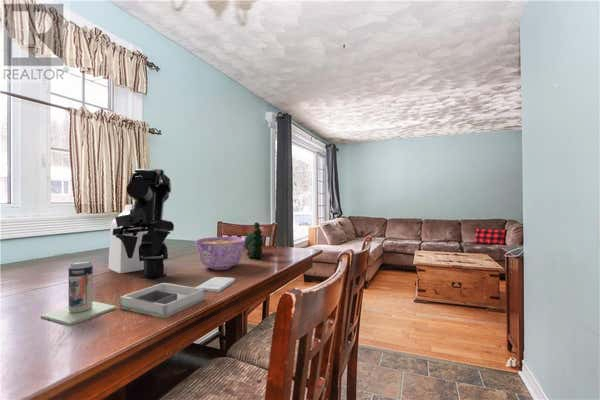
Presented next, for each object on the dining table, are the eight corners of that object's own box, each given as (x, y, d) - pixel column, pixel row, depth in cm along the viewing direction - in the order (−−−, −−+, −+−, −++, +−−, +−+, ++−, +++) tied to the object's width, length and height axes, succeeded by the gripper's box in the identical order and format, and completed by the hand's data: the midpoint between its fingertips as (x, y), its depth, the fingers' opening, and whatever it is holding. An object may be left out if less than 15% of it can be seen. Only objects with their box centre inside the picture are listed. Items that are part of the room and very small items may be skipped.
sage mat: (40, 317, 70) (40, 315, 70) (89, 302, 80) (89, 300, 80) (69, 325, 66) (69, 322, 66) (116, 308, 76) (116, 306, 76)
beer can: (63, 313, 71) (63, 264, 71) (78, 306, 76) (78, 260, 76) (82, 314, 71) (82, 264, 71) (96, 306, 75) (97, 260, 75)
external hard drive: (235, 282, 102) (218, 294, 90) (213, 281, 104) (194, 292, 91) (235, 278, 102) (218, 288, 90) (213, 276, 104) (194, 287, 91)
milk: (151, 268, 120) (151, 204, 120) (120, 273, 111) (120, 205, 111) (138, 263, 127) (138, 204, 127) (108, 268, 118) (108, 204, 118)
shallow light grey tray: (119, 308, 76) (119, 296, 76) (163, 292, 89) (163, 282, 89) (164, 318, 70) (165, 305, 70) (204, 299, 83) (204, 289, 83)
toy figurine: (267, 264, 134) (260, 250, 158) (268, 224, 132) (261, 216, 156) (246, 266, 132) (242, 251, 156) (247, 224, 130) (243, 216, 154)
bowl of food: (196, 275, 108) (196, 244, 108) (194, 264, 127) (194, 237, 127) (249, 271, 115) (249, 242, 115) (240, 261, 134) (241, 235, 134)
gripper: (98, 206, 87) (93, 258, 84) (147, 196, 82) (144, 252, 78) (129, 212, 98) (126, 259, 94) (175, 204, 92) (174, 254, 89)
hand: (141, 256), depth 88 cm, fingers open, 9 cm apart
